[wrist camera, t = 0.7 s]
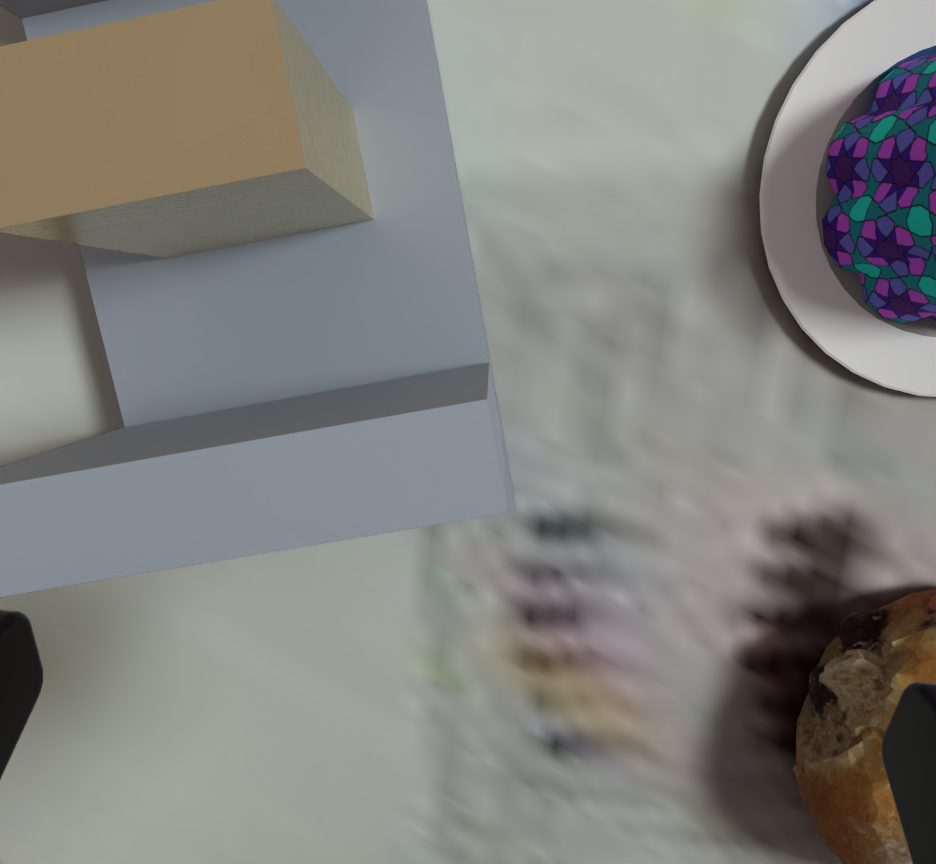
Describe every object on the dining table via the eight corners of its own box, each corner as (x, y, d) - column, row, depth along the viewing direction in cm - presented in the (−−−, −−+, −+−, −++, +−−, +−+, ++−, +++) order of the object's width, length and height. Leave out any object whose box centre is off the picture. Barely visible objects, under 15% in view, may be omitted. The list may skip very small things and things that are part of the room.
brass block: (373, 219, 22) (305, 167, 14) (169, 258, 22) (-13, 230, 14) (353, 109, 21) (269, -11, 13) (144, 150, 21) (-60, 58, 14)
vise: (514, 498, 24) (521, 566, 18) (180, 554, 25) (71, 639, 18) (399, -155, 21) (359, -354, 15) (25, -72, 22) (-167, -229, 16)
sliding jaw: (501, 430, 22) (506, 512, 13) (136, 493, 23) (-93, 612, 14) (489, 362, 22) (486, 398, 13) (119, 428, 22) (-126, 507, 14)
